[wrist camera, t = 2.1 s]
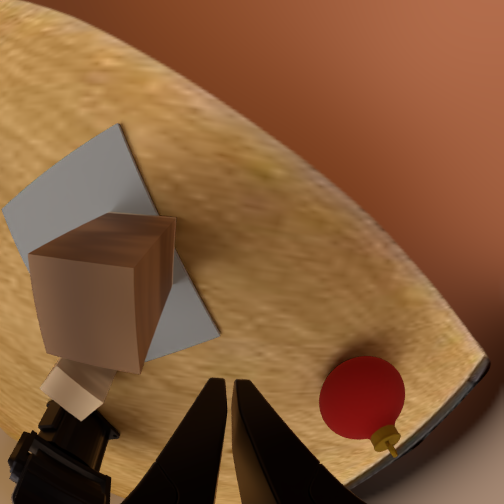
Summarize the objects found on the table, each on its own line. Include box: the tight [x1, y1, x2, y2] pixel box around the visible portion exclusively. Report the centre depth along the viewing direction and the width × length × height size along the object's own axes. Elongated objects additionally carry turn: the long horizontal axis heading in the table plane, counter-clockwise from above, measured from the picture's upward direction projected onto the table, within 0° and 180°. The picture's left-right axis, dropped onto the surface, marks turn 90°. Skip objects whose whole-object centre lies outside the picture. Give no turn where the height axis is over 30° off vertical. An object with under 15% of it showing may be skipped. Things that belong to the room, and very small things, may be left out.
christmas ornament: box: [319, 356, 405, 457], centre depth 18 cm, size 7×7×10 cm
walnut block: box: [28, 212, 177, 374], centre depth 13 cm, size 4×4×9 cm
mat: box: [2, 123, 220, 362], centre depth 18 cm, size 16×12×1 cm
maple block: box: [40, 357, 117, 421], centre depth 17 cm, size 4×4×5 cm
